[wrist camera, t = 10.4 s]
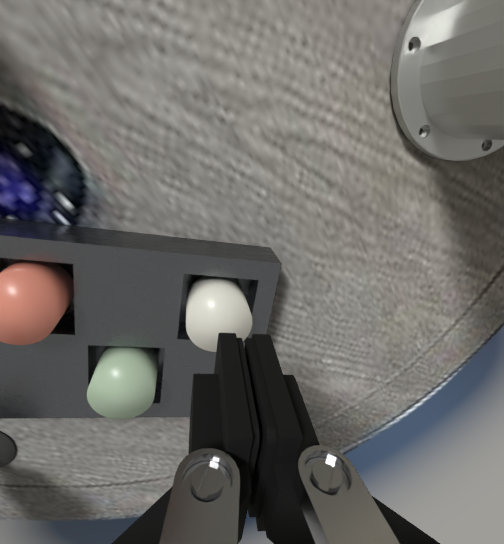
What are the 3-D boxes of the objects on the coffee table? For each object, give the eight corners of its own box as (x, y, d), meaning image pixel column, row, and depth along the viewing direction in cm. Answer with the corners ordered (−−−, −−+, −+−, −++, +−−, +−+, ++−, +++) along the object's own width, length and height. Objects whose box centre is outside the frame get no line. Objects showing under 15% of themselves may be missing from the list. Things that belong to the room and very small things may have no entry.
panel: (270, 247, 26) (281, 263, 23) (242, 387, 31) (248, 416, 28) (-20, 215, 22) (-55, 229, 19) (1, 384, 27) (-24, 418, 24)
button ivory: (248, 275, 25) (257, 297, 22) (239, 326, 26) (246, 353, 23) (189, 270, 24) (189, 292, 21) (183, 323, 25) (182, 350, 22)
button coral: (74, 260, 22) (55, 282, 19) (75, 317, 24) (58, 346, 21) (-1, 253, 21) (-35, 275, 18) (5, 313, 23) (-24, 343, 20)
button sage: (160, 340, 26) (156, 369, 22) (156, 385, 27) (152, 419, 24) (99, 337, 25) (86, 368, 21) (99, 384, 26) (87, 419, 23)
